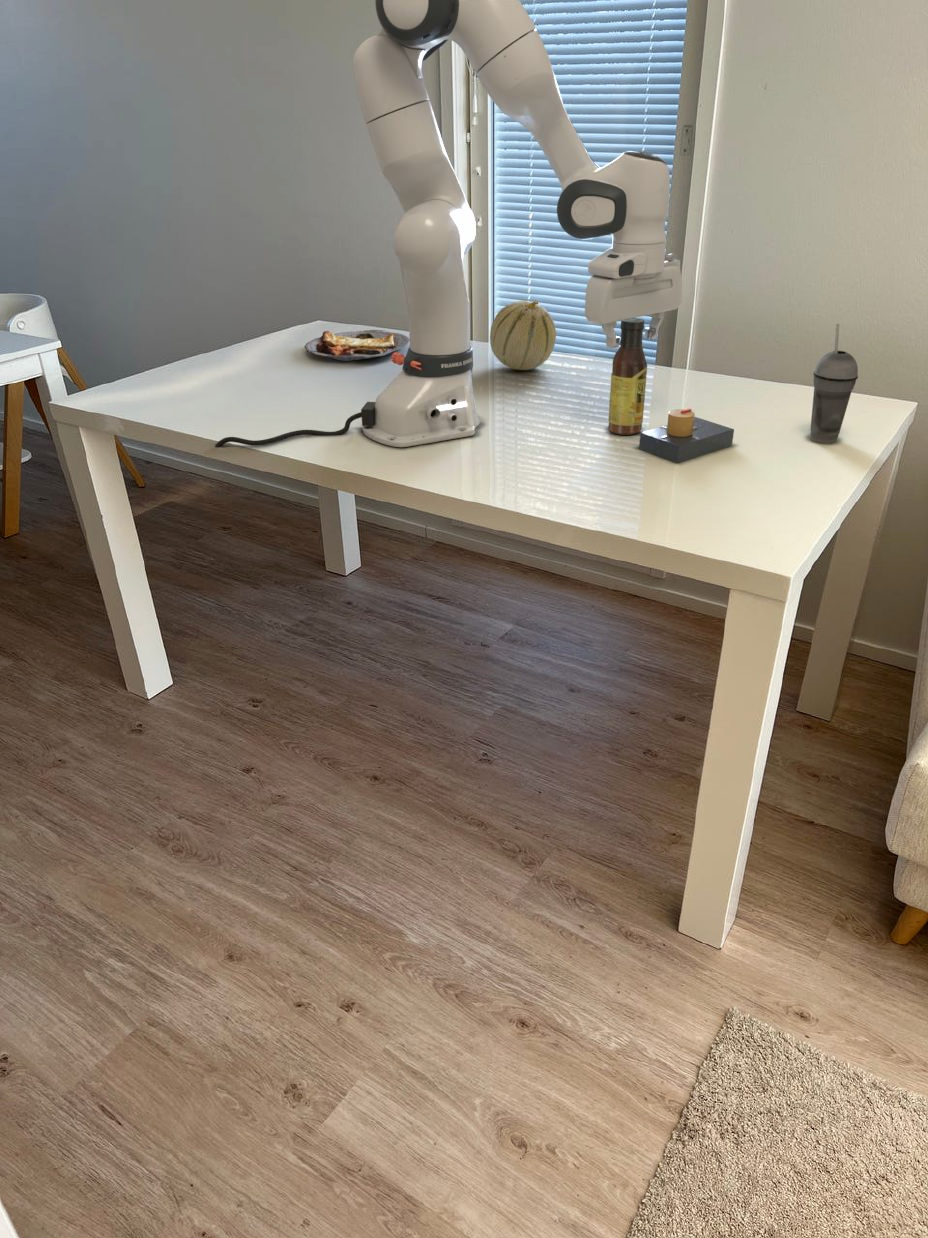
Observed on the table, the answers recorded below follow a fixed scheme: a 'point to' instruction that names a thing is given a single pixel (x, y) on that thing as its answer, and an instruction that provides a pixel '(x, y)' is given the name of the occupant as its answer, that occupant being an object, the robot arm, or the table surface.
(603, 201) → the robot arm
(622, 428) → the sauce bottle
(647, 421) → the table surface
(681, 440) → the grey dial panel
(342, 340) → the food plate
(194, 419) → the table surface
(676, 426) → the tan cylinder
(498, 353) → the cantaloupe
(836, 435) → the beverage cup
